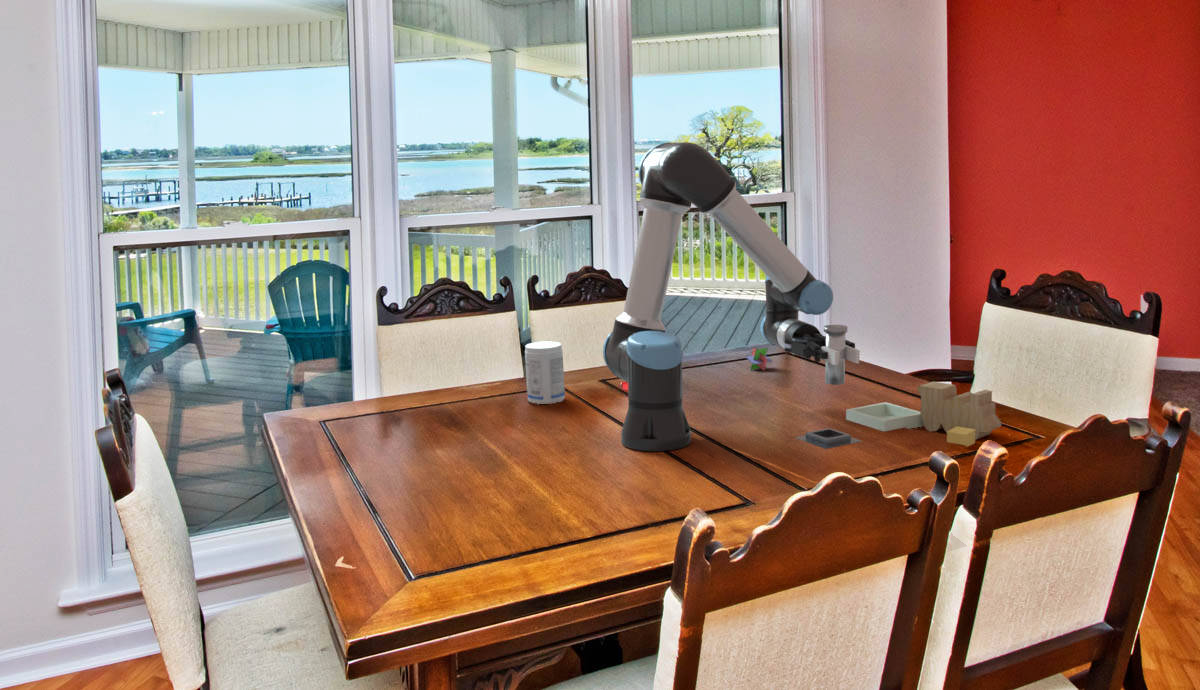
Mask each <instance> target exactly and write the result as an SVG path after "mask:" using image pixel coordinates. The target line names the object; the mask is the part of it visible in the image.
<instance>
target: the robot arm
mask: <svg viewBox="0 0 1200 690" xmlns="http://www.w3.org/2000/svg"><path fill="white" fill-rule="evenodd" d="M638 177H639V178H638V179H639V181H640V183H641V187H640V188H641V189H640V194H639V201H640V203H641V204H642V206H643V213H642V218H641V222H640V227H639V231H638V238H637V242H636V247H635V253H634V257H633V258H634V259H633V264H632V268H631V273H630V277H629V284H628V288H627V292H626V298H625V301H624V303H625V304H624V308H623V312H622V313H621V314H619V315H618V316H616V317H615V319H614V324H613V328H612V331H611V332H610V333H609V334H608V335H607V337H606V338H605V340H604V343H603V347H602V356H603V357H602V358H603V360H604V363H605V365H606V367H607V368H608V370H609V371H611V373H612V374H613V375H614V376H615V377H616V378H618V379H620V380H622V381H623V382H627V383H628V392H627V393H628V397H627V398H628V399H627V400H628V407H627V412H626V415H625V417H624V422H623V425H622V429H621V431H620V436H621V437H620V440H621V441H620V442H621V444H622V445H623V446H624V447H626V448H629V449H632V450H636V451H645V452H667V451H666V450H668V451H673V450H678V449H683V448H685V447H687V446H689V445H690V444H691V443H692V431H691V428H690V425H689V421H688V419H687V417H686V413H685V410H684V406H683V358H684V356H683V355H684V354H683V350H682V341H681V340H680V339H679V338H678V337H677V335H674V334H673V333H669V332H666V327H665V324H664V323H663V322H662V315H663V309H664V304H665V300H666V293H667V289H668V285H669V280H670V276H671V270H672V265H673V262H674V256H675V252H676V245H677V243H678V241H677V240H678V237H679V231H680V227H681V222H682V217H683V215H684V214H686V213H687V212H688V211H690V210H691V208H692V205H694V206H695V207H696V208H697V210H699V211H700V212H701V214H709V215H710V216H711V218H713V219H714V221H716V223H717V224H718V225H719V226H720V227H721V228H722V230H723V231H724V232H725V233H726V234H727V235H728V236H729V237H730V238H731V239H732V240H733V241H734V242H735V243H736V244H737V245H738V246H739V248H740V249H741V250H743V252H744V253H745V254H746V255H747V257H748V258H749V259H751V261H752V262H753V263H754V264H755V265H756V267H758V268H759V269H760V270H761V271H762V272H763V274H764V275H765V279H764V284H765V304H766V305H765V306H766V307H765V316H763V318H762V320H761V322H760V325H759V330H760V334H761V336H762V338H764V339H765V340H766V341H767V342H768V343H769V344H771V345H773V346H776V347H778V348H781V349H784V352H788V353H791V354H792V355H796V356H798V357H801V358H804V359H807V360H809V359H812V357H813V359H814V361H813V362H815V363H820V362H821V360H822V361H824V362H825V361H827V362H829V363H831V364H833V365H838V359H839V352H837V351H835V350H832V349H830V348H827V347H826V335H823V333H821V331H820V330H819V329H818V328H817V327H816V326H814V325H813V324H810V323H808V322H805V321H802V320H801V319H800V320H799V312H801V313H804V314H805V315H812V316H820V315H823V314H825V313H826V312H828V310H829V309H830V308H831V306H832V305H833V301H834V292H833V290H832V288H831V286H830V285H829V284H827V283H826V282H825V281H824V282H823V281H822V280H819V279H817V278H816V277H815V276H814V275H813V274H812V273H811V272H810V271H809V269H807V268H806V266H805V265H804V264H803V263H802V262H801V261H800V260H799V259H798V258H797V256H796V255H795V254H794V253H793V252H792V251H791V250H790V249H789V247H788V246H787V245H786V244H785V243H784V242H783V241H782V239H781V238H780V237H779V236H778V234H776V233H775V232H774V231H773V229H772V228H771V227H770V226H769V225H768V224H767V223H766V222H765V220H764V219H763V218H762V217H761V216H760V215H759V214H758V212H756V210H755V209H754V208H753V207H752V206H751V205H750V203H749V202H748V201H747V200H746V199H745V198H744V197H743V195H742V194H740V191H738V190H737V189H736V188H737V181H736V180H735V179H734V178H733V177H732V176H731V175H730V174H729V173H728V171H727V170H726V169H725V168H724V167H723V166H722V165H721V163H719V161H718V160H717V159H716V158H715V157H714V156H713V155H712V154H711V153H710V152H709V151H708V150H707V149H705V148H704V147H702V146H701V145H699V144H696V143H693V142H688V141H685V142H670V141H669V142H662V143H660V144H658V145H655V146H653V147H651V148H650V149H648V150H647V151H646V152H645V154H644V155H643V156H642V157H641V160H640V163H639V165H638ZM860 353H861V352H860V349H857V348H856V343H854V342H852V341H850V340H848V339H845V361H846V360H847V361H848V362H851V363H854V364H860V355H861V354H860Z"/></svg>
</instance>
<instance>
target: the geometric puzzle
mask: <svg viewBox="0 0 1200 690" xmlns="http://www.w3.org/2000/svg"><path fill="white" fill-rule="evenodd" d="M768 349H769V348H768V347H763V348H759V347H755V346H753V347H752V349H751V350H750V355H746V356H744V357H745V359H746V360H748V361H749V363H750V367H749V366H748V368H749V370H750V369H751V370H750V371H753V370H752V369H754V370H759V369H758V368H760V371H762V372H765V370H766V369H768V367H767V365H769V364H772V362H773V361H774V360H772V358H771V359H770V358H769V356H768V355H769V354H768V353H769V350H768ZM748 361H746V362H747V364H749V363H748ZM767 363H768V364H767Z"/></svg>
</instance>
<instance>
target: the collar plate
mask: <svg viewBox="0 0 1200 690" xmlns="http://www.w3.org/2000/svg"><path fill="white" fill-rule="evenodd" d="M794 439H796V440H800V441H803V442H806V443H807V444H808V443H809V444H811V445H813V446H816V447H819V448H821V449H825V450H827V449H832V448H837V447H842V446H846V445H851V444H856V443H862V442H863V441H862V440H860V439H857V438H855V437H852V435H851V434H850V433H846V432H843V431H839V430H836V429H833V428H831V427H828V428H824V429H819V430H812V431H809V432H807V431H806V432H805V435H801V436H796V437H795V436H794Z"/></svg>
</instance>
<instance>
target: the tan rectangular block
mask: <svg viewBox="0 0 1200 690" xmlns="http://www.w3.org/2000/svg"><path fill="white" fill-rule="evenodd" d="M946 443H948V444H949V443H950V444H956V445H961V446H964V447H968V446H969V447H971V446H973V445H975V443H976V440H975V429H970V428H964V427H958V426H957V427H955V428H953V429H951V430H949V431H947V433H946ZM972 444H973V445H972ZM970 445H971V446H970Z"/></svg>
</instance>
